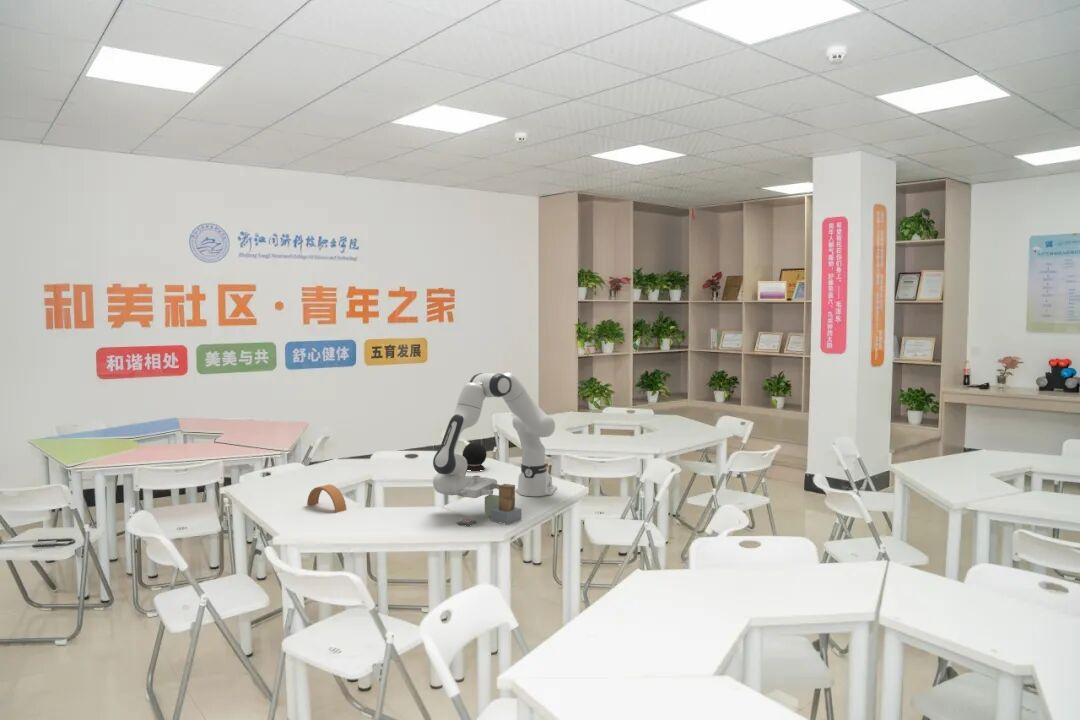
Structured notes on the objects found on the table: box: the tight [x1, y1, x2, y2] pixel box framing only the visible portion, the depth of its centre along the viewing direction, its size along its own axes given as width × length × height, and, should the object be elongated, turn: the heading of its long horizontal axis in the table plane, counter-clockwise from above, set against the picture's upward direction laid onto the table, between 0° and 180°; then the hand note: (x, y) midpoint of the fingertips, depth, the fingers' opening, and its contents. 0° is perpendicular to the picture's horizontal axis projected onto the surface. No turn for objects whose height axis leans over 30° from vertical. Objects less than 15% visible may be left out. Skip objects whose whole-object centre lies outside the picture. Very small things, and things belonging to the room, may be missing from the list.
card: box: [456, 518, 477, 527], centre depth 303 cm, size 6×6×1 cm
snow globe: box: [461, 442, 488, 472], centre depth 403 cm, size 13×13×15 cm
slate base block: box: [490, 506, 522, 525], centre depth 308 cm, size 9×9×5 cm
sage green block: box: [484, 494, 499, 517], centre depth 316 cm, size 5×5×8 cm
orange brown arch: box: [306, 484, 347, 514], centre depth 327 cm, size 6×20×10 cm, turn 54°
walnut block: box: [498, 483, 516, 511], centre depth 308 cm, size 5×5×10 cm
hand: (497, 489), depth 309 cm, fingers open, 8 cm apart
